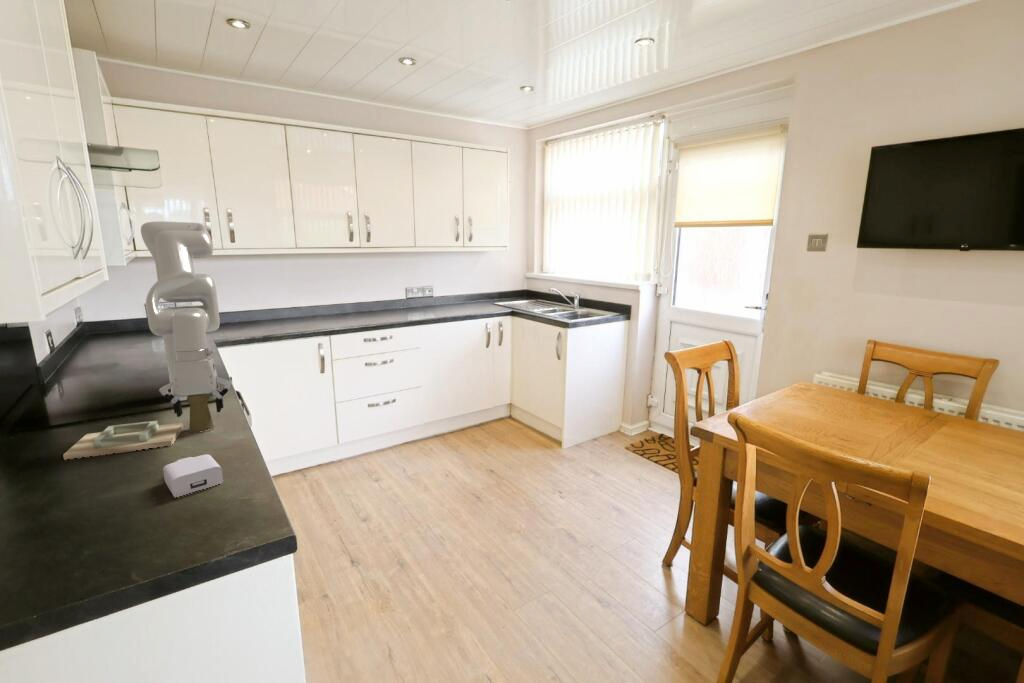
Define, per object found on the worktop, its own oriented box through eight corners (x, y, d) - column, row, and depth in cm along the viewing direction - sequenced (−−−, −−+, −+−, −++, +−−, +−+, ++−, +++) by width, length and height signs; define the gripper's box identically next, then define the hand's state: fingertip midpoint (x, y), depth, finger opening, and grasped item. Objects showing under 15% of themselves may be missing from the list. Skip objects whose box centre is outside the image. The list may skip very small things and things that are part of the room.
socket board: (87, 439, 127) (85, 426, 126) (183, 427, 136) (182, 416, 135) (64, 460, 115) (61, 446, 114) (171, 445, 123) (169, 433, 123)
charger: (205, 462, 115) (223, 484, 104) (159, 475, 108) (174, 499, 98) (203, 444, 114) (221, 465, 104) (156, 456, 107) (171, 479, 97)
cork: (209, 423, 139) (205, 388, 137) (217, 428, 136) (213, 392, 133) (186, 429, 135) (181, 392, 133) (193, 434, 131) (188, 397, 129)
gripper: (229, 350, 138) (236, 405, 141) (158, 355, 131) (167, 413, 134) (226, 355, 131) (232, 413, 134) (151, 360, 124) (159, 421, 127)
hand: (199, 413), depth 134 cm, fingers open, 9 cm apart
